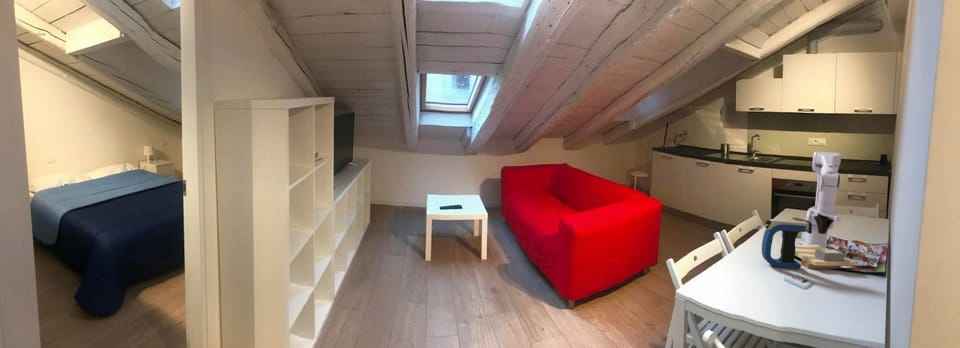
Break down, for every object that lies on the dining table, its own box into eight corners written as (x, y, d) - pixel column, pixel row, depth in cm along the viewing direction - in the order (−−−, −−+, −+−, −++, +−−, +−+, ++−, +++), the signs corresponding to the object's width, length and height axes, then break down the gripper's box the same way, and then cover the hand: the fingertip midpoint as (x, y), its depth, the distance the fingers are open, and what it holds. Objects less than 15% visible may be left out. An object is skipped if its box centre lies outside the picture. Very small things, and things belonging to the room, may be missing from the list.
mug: (779, 230, 225) (789, 212, 223) (790, 234, 229) (801, 216, 227) (803, 242, 214) (814, 223, 212) (814, 246, 219) (826, 227, 217)
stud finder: (814, 256, 185) (815, 248, 184) (833, 256, 185) (835, 248, 184) (823, 261, 180) (825, 253, 179) (843, 261, 180) (845, 253, 179)
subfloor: (777, 252, 199) (779, 244, 198) (818, 252, 199) (819, 244, 199) (811, 270, 179) (813, 261, 179) (856, 270, 180) (858, 262, 179)
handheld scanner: (807, 270, 179) (814, 222, 176) (763, 266, 182) (769, 220, 179) (802, 266, 183) (808, 219, 180) (758, 263, 186) (764, 217, 183)
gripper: (804, 198, 197) (800, 228, 199) (830, 206, 183) (825, 238, 185) (820, 198, 197) (816, 228, 199) (848, 206, 183) (842, 238, 185)
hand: (821, 233), depth 192 cm, fingers closed
